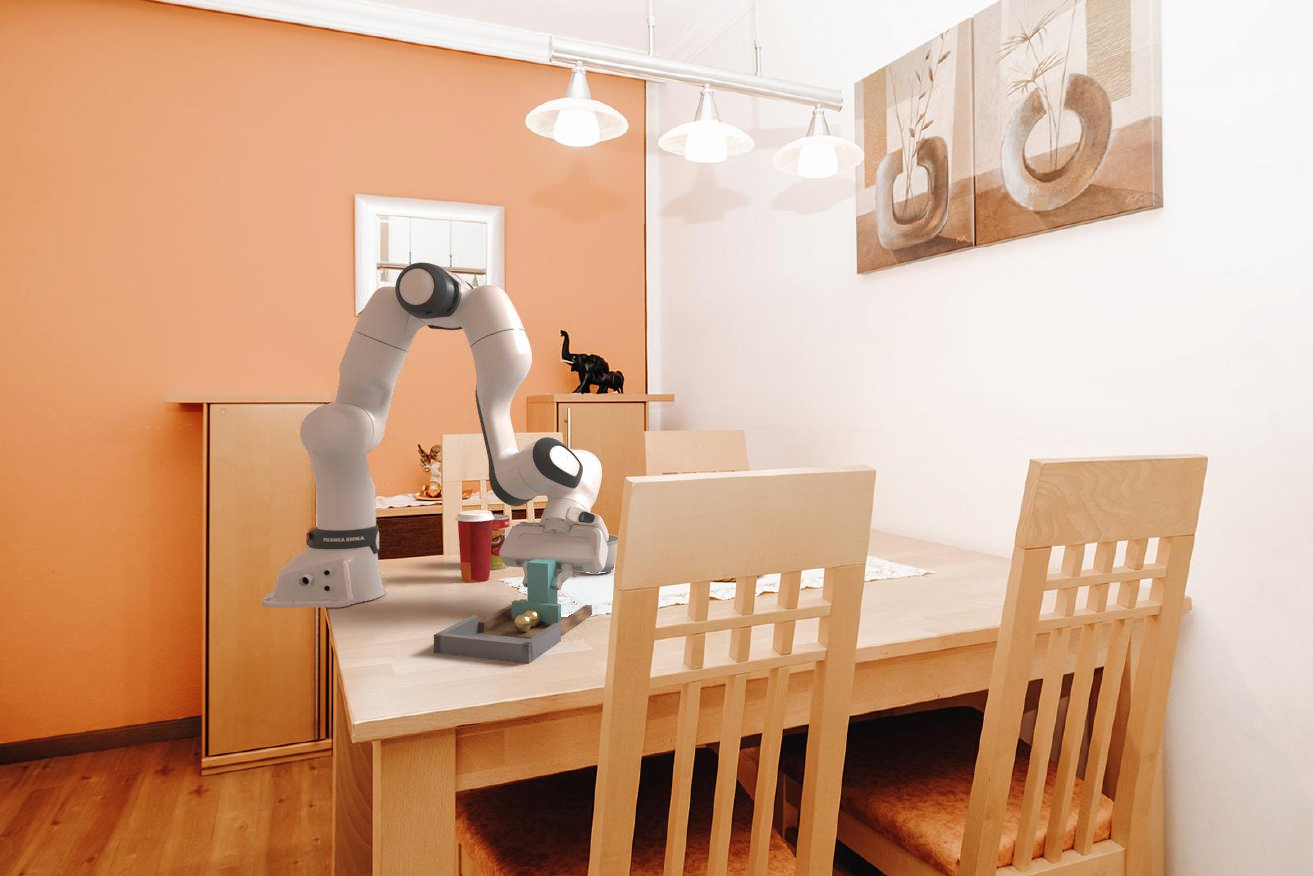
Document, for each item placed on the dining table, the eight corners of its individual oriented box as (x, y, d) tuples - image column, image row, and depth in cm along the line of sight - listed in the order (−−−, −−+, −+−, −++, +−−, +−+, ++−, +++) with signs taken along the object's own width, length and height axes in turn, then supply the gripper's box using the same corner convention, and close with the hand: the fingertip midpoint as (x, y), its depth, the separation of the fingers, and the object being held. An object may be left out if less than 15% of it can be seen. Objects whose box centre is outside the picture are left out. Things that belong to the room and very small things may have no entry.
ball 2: (526, 633, 134) (521, 622, 132) (523, 620, 136) (519, 609, 134) (542, 627, 134) (538, 616, 132) (540, 614, 137) (535, 604, 135)
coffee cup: (499, 575, 175) (499, 510, 174) (487, 584, 167) (487, 515, 166) (463, 574, 176) (463, 509, 175) (450, 583, 168) (449, 514, 167)
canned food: (475, 564, 188) (475, 515, 187) (508, 562, 190) (508, 514, 189) (476, 570, 180) (476, 519, 180) (510, 569, 182) (510, 518, 181)
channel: (521, 609, 147) (521, 599, 146) (592, 616, 142) (592, 605, 142) (476, 634, 131) (475, 622, 131) (553, 642, 126) (553, 630, 126)
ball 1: (514, 635, 130) (514, 617, 130) (513, 630, 133) (513, 612, 132) (532, 634, 130) (532, 616, 130) (531, 629, 133) (531, 611, 133)
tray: (472, 633, 132) (472, 615, 131) (560, 642, 127) (560, 624, 127) (433, 653, 121) (433, 634, 120) (529, 664, 116) (528, 645, 116)
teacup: (628, 573, 178) (628, 539, 178) (585, 578, 172) (585, 543, 172) (600, 562, 190) (600, 530, 190) (560, 567, 184) (560, 534, 184)
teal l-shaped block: (525, 610, 142) (524, 557, 142) (570, 615, 139) (570, 560, 139) (511, 618, 137) (511, 562, 137) (558, 622, 134) (558, 566, 134)
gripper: (508, 511, 148) (482, 573, 139) (608, 517, 142) (588, 581, 133) (519, 531, 152) (495, 592, 143) (617, 537, 146) (598, 600, 137)
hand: (541, 587), depth 138 cm, fingers closed on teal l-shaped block, 4 cm apart
